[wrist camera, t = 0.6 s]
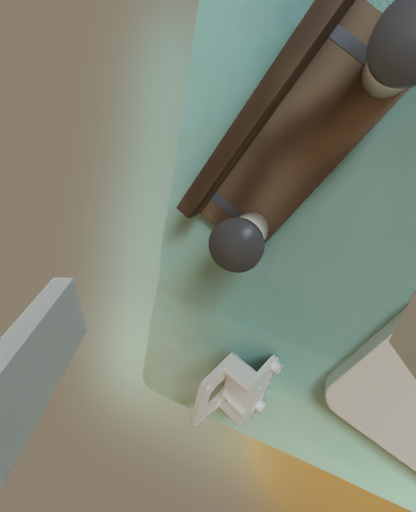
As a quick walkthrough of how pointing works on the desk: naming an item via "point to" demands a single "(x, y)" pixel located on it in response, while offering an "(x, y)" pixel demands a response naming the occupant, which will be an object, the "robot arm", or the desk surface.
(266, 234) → the knob
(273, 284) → the desk surface
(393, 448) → the computer
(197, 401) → the mounting bracket
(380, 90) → the knob
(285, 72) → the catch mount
